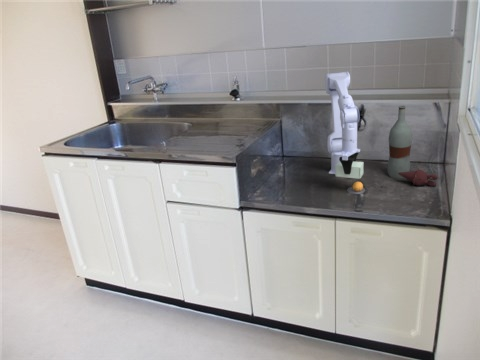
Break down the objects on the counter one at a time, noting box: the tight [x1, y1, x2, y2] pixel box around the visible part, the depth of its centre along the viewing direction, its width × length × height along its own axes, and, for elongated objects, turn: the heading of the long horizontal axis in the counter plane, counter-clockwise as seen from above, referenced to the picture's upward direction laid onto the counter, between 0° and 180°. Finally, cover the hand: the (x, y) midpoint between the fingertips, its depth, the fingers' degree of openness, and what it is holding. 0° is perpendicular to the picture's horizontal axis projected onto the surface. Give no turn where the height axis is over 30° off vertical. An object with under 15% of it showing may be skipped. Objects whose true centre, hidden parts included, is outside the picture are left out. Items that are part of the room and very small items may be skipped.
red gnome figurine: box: [398, 168, 439, 188], centre depth 161 cm, size 7×7×15 cm
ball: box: [352, 181, 364, 191], centre depth 161 cm, size 4×4×4 cm
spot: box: [346, 186, 366, 195], centre depth 162 cm, size 7×7×1 cm
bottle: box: [387, 105, 413, 180], centre depth 166 cm, size 9×9×30 cm
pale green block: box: [334, 160, 365, 180], centre depth 160 cm, size 6×10×5 cm, turn 61°
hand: (349, 170), depth 160 cm, fingers closed on pale green block, 6 cm apart
